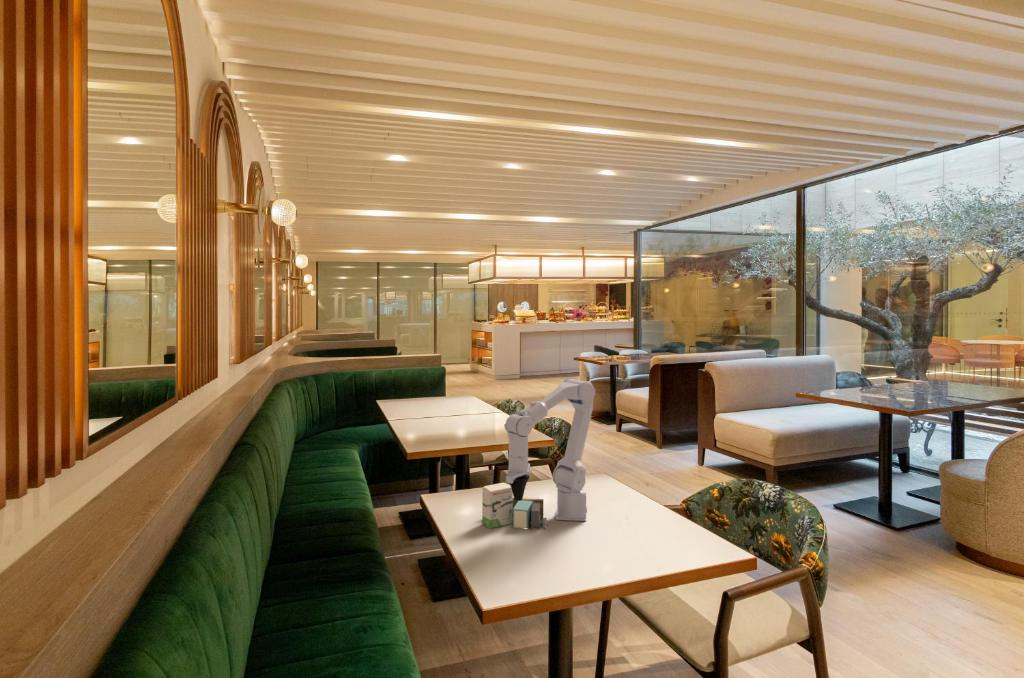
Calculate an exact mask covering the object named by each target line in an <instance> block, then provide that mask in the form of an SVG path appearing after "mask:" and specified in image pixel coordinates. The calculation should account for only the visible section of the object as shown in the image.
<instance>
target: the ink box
mask: <svg viewBox="0 0 1024 678" xmlns="http://www.w3.org/2000/svg"><path fill="white" fill-rule="evenodd" d="M481 490H482V494H481V495H482V502H481V503H482V505H481V506H482V509H481V511H482V512H481V513H482V517H481V519H482V522H481V523H482V525H483V526H485V527H487V528H489V529H495V528H498V527H501V525H503V526H505V525H506V524H507V525H510V523H511V524H513V498H514V496H513V492H512V489H511V486H510V484H509V483H506V482H500V483H494V484H490V485H485V486H483V487H482V489H481ZM497 526H498V527H497Z"/></svg>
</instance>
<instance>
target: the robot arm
mask: <svg viewBox="0 0 1024 678" xmlns="http://www.w3.org/2000/svg"><path fill="white" fill-rule="evenodd" d="M595 395H596V389H595V387H594V385H593V384H592V382H590V381H589V380H588V381H587V380H585V381H584V380H578V379H573V378H565V379H564V380H563V381H561V382H559V383H558V387H556V388H555V389H554V390H553V391H551V392H550V393H549V394H548V395H547V396H545V397H544V398H543V399H542V400H540V401H539V400H535V401H534V400H532V401H530V402H529V404H528V406H526V407H525V408H523V409H520V410H519V411H518V413H516V414H515V413H513V414H511V415H509V416H508V417H507V418H506V420H505V423H504V429H505V431H506V433H507V438H508V470H507V475H505V483H506V484H508V485H510V486H511V489H512V492H513V498H514V500H517V501H521V500H522V499H523V498H524V495H525V490H526V486H527V483H528V481H529V479H530V474H532V472H533V471H532V470H531V463H529V435H531V432H532V430H533V428H534V427H535V425H537V424H538V423H539V422H541V421H542V420H544V419H545V418H546V417H547V416H548V411H550V410H551V409H552V408H554V407H556V406H557V405H558V404H561V402H563V401H565V400H567V401H568V402H569V403H570V404H571V405H572V406H573V408H574V414H573V418H572V422H571V426H570V431H569V435H568V438H567V439H568V440H567V443H566V449H565V453H564V457H562V458H561V459H559V460H558V461H557V464H556V467H555V468H554V470H553V472H552V475H551V476H552V481H553V483H554V484H555V488H557V493H556V494H557V496H556V497H557V502H556V503H557V509H556V510H555V520H556V521H575V522H576V521H578V522H586V521H587V513H588V507H587V489H583V488H584V487H585V485H586V472H587V471H586V470H587V468H586V467H585V466H584V464H583V463H582V460H583V459H582V457H583V454H584V449H585V444H586V440H587V436H588V430H589V427H590V423H591V418H592V414H593V409H594V399H595Z"/></svg>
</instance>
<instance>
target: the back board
mask: <svg viewBox="0 0 1024 678" xmlns="http://www.w3.org/2000/svg"><path fill="white" fill-rule="evenodd" d="M522 500H524V501H533V502H540V518H544V498H527V497H526V498H524V497H523V499H522ZM517 502H518V501H517V500H514V497H513V508H514V507H515V505H516V504H517Z"/></svg>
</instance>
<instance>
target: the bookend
mask: <svg viewBox="0 0 1024 678" xmlns="http://www.w3.org/2000/svg"><path fill="white" fill-rule="evenodd" d="M530 526H531V527H530V529H533V528H545V529H544V530H546V528H547V517H543V518H540V502H533V504H532V510H531V524H530Z"/></svg>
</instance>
